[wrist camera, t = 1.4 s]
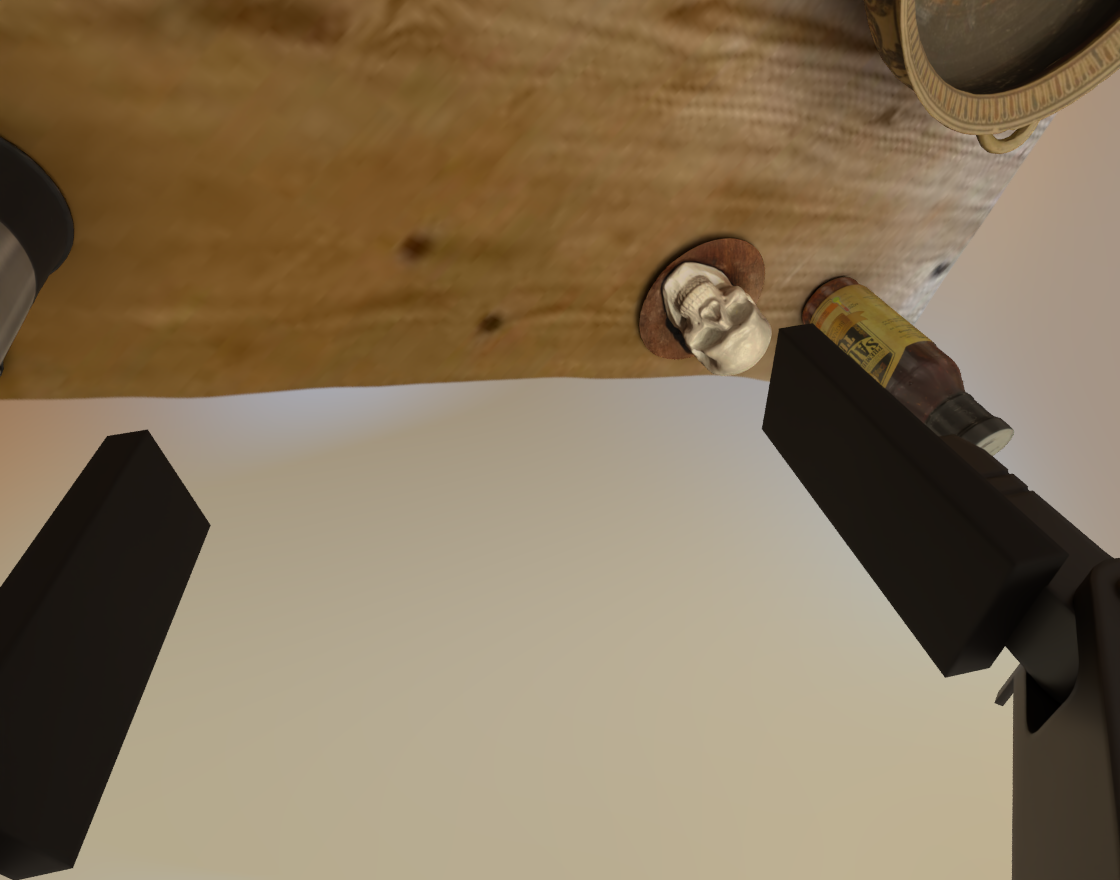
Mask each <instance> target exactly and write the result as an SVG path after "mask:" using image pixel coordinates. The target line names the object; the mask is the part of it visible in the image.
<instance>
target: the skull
mask: <svg viewBox="0 0 1120 880" xmlns="http://www.w3.org/2000/svg"><path fill="white" fill-rule="evenodd" d="M764 279H765V266H764V262H763V259H762V256H761V255H760V253H759V251H758V250H757V249H756V248H755V247H754V246H753V245H751V244H750V243H748V242H746V241H743V240H739V239H735V238H727V239H725V238H724V239H719V240H718V239H716V240H714V241H710V242H706V243H704V244H702V245H699V246H697V247H695V248H693V249H691V250H690V251H688V252H686V253H685V254H683V255H682V256H680V257H679V258H677V259H676V260H675V261H674V262H672V263H671V264H670V265H669V266H667V268H666V269H665V270H664V271H663V272H662V273H661V274H660V275H659V277H658V278H657V280H656V281H655V283H654V284H653V285H652V288H651V289H650V290H649V292H648V295H647V297H646V299H645V301H644V304H643V307H642V309H641V310H642V311H641V313H640V314H641V315H640V321H639V322H640V324H639V325H638V326H639V328H640V334H641V338H642V340H643V342H644V344H645V345H646V347H647V348H648V349H649V350H650V351H651V352H652V353H653V354H655V355H658V356H660V357H663V358H666V359H674V360H675V359H684V358H688V357H689V358H690V357H693V356H696V357H697V359H698V360H699V361H700V362H701V363H702V364H703V365H704V366H705V367H706V368H707V369H708V370H709V371H711V373H713V374H716V375H721V376H728V375H734V374H739V373H741V372H744V371H746V370H748V369H750V368H751V367H752V366H754V365H755V364H756V363H757V362H758V361H759V360H760V359H761V357H762V356H763V355H764V353H765V352H766V350H767V348H768V345H769V343H770V340H771V335H772V332H771V326H770V324H769V322H768V320H767V319H766V318H765V316H764V315H763V314H762V313H761V311H760V310H759V309H758V307H757V306H756V303H757V301H758V299H759V297H760V294H761V291H762V289H763V284H764ZM665 313H666V314H665Z"/></svg>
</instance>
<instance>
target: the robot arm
mask: <svg viewBox="0 0 1120 880" xmlns="http://www.w3.org/2000/svg"><path fill="white" fill-rule="evenodd" d="M762 430H763V431H764V432H765V434H766V435H767V436H768V438H769V439H770V441H771V442H772V443H773V445H774V446H775V447H776V449H777V450H778V451H779V453H780V454H781V455H782V457H783V458H784V460H785V461H786V462H787V464H788V465H789V466H790V468H791V469H792V470H793V472H794V473H795V474H796V476H797V477H798V479H799V480H800V481H801V483H802V484H803V485H804V487H805V488H806V489H807V491H808V492H809V493H810V495H811V496H812V498H813V499H814V500H815V502H816V503H817V504H818V506H819V507H820V508H821V510H822V511H823V512H824V514H825V515H826V517H827V518H828V519H829V521H830V522H831V523H832V525H833V526H834V527H835V529H836V530H837V531H838V533H839V534H840V536H841V537H842V538H843V540H844V541H845V542H846V544H847V545H848V546H849V548H850V549H851V550H852V552H853V553H854V555H855V556H856V557H857V559H858V560H859V561H860V563H861V564H862V565H863V567H864V568H865V569H866V571H867V572H868V573H869V575H870V576H871V578H872V579H873V580H874V582H875V583H876V584H877V586H878V587H879V589H880V590H881V591H882V593H883V594H884V595H885V597H886V598H887V599H888V601H889V602H890V603H891V605H892V606H893V607H894V609H895V610H896V612H897V613H898V614H899V615H900V617H901V618H902V620H903V621H904V622H905V624H906V625H907V627H908V628H909V629H910V631H911V632H912V633H913V634H914V636H915V637H916V639H917V640H918V641H919V643H920V644H921V645H922V647H923V648H924V650H925V651H926V652H927V654H928V655H929V656H930V658H931V659H932V660H933V662H934V663H935V665H936V666H937V667H938V668H939V670H940V671H941V673H942V674H943V675H944V677H950V676H955V675H959V674H964V673H969V672H973V671H978V670H982V669H986V668H990V666H991V665H992V664H993V662H994V661H995V660H996V658H997V657H998V655H999V654H1000V652H1001V651H1002V650H1003V648H1004V647H1005V646H1006V647H1007V648H1008V650H1009V651H1010V652H1011V653H1012V654H1013V656H1014V657H1015V658H1016V659H1017V660H1018V661H1019V662H1020V664H1019V665H1018V667H1017V668H1016V669H1015V671H1014V672H1013V673H1012V675H1011V676H1010V677H1009V679H1008V680H1007V681H1006V683H1005V684H1004V685H1003V686H1002V688H1001V689H1000V690H999V692H998V695H997V697H996V700H995V703H996V704H998V705H1001V706H1003V705H1004V704H1005V703H1006V701H1007V700H1008V699H1009V698H1010V696H1011V695H1012V694H1014V695H1013V700H1014V701H1013V704H1014V705H1013V819H1012V820H1013V821H1012V823H1013V824H1012V828H1013V829H1012V880H1120V558H1115V559H1114V558H1113V557H1111V556H1110V555H1108V554H1107V553H1106V552H1105V551H1103V550H1102V549H1101V548H1100V547H1099V546H1098V545H1096V544H1095V543H1094V542H1093V541H1092V540H1090V539H1089V538H1088V537H1087V536H1086V535H1085V534H1083V533H1082V532H1081V531H1080V530H1079V529H1078V528H1076V527H1075V526H1074V525H1073V524H1072V523H1070V522H1069V521H1068V520H1067V519H1066V518H1065V517H1063V516H1062V515H1061V514H1060V513H1059V512H1058V511H1056V510H1055V509H1054V508H1053V507H1052V506H1050V505H1049V504H1048V503H1047V502H1046V501H1044V500H1043V499H1042V498H1041V497H1040V496H1039V495H1037V494H1036V493H1035V492H1034V491H1029V490H1028V486H1027V485H1026V484H1025V483H1023V482H1022V481H1021V480H1020V479H1019V478H1018V477H1016V476H1015V475H1014V474H1009V473H1008V469H1007V468H1006V467H1005V466H1003V465H1002V464H1001V463H1000V462H998V461H997V460H996V459H995V458H994V457H993V456H992V455H990V454H989V453H988V452H987V451H986V450H985V449H983V448H981V447H979V446H977V445H975V444H973V443H971V442H969V441H967V440H965V439H963V438H961V437H959V436H957V435H955V434H949V435H944V436H937V435H936V434H935V433H934V432H933V431H932V430H931V429H930V428H928V427H927V426H926V425H925V424H924V423H923V422H922V421H921V420H920V419H918V418H917V417H916V416H915V415H914V414H913V413H912V412H911V411H910V410H908V409H907V408H906V407H905V406H904V405H903V404H902V403H901V402H900V401H898V400H897V399H896V398H895V397H894V396H893V395H892V394H891V393H890V392H888V391H887V390H886V389H885V388H884V387H883V386H882V385H881V384H880V383H879V382H877V381H876V380H875V379H874V378H873V377H872V376H871V375H870V374H869V373H867V372H866V371H865V370H864V369H863V368H862V367H861V366H860V365H859V364H857V363H856V362H855V361H854V360H853V359H852V358H851V357H850V356H849V355H847V354H846V353H845V352H844V351H843V350H842V349H841V348H840V347H839V346H837V345H836V344H835V343H834V342H833V341H832V340H831V339H830V338H829V337H827V336H826V335H825V334H824V333H823V332H822V331H821V330H820V329H819V328H817V327H816V326H815V325H814V324H813V323H811V324H805V325H798V326H792V327H786V328H780V329H779V333H778V339H777V344H776V350H775V356H774V362H773V368H772V373H771V379H770V385H769V391H768V397H767V403H766V408H765V414H764V420H763V426H762ZM209 528H210V524H209V522H208V521H207V519H206V518H205V516H204V515H203V513H202V512H201V510H200V509H199V507H198V506H197V504H196V502H195V501H194V499H193V498H192V496H191V495H190V493H189V492H188V490H187V489H186V487H185V486H184V484H183V483H182V481H181V479H180V478H179V476H178V475H177V473H176V472H175V470H174V469H173V467H172V466H171V464H170V463H169V461H168V460H167V458H166V457H165V455H164V454H163V452H162V451H161V449H160V448H159V446H158V444H157V443H156V442H155V440H154V438H153V437H152V436H151V434H150V432H149V431H148V430H142V431H136V432H130V433H123V434H117V435H111V436H107V437H106V439H105V440H104V441H103V443H102V444H101V446H100V447H99V448H98V450H97V451H96V453H95V454H94V456H93V457H92V459H91V460H90V461H89V463H88V464H87V466H86V467H85V468H84V470H83V471H82V473H81V474H80V475H79V477H78V478H77V479H76V481H75V482H74V484H73V485H72V487H71V488H70V490H69V491H68V492H67V494H66V495H65V496H64V498H63V500H62V501H61V502H60V504H59V505H58V506H57V508H56V509H55V511H54V512H53V514H52V515H51V516H50V518H49V519H48V521H47V522H46V523H45V525H44V526H43V528H42V529H41V531H40V532H39V533H38V535H37V536H36V538H35V539H34V540H33V542H32V543H31V545H30V546H29V547H28V549H27V550H26V552H25V553H24V555H23V556H22V557H21V559H20V560H19V562H18V563H17V564H16V566H15V567H14V569H13V570H12V572H11V573H10V574H9V576H8V577H7V579H6V580H5V582H4V583H3V584H2V586H1V587H0V874H1V875H3V876H6V877H8V878H10V879H12V880H20V879H25V878H29V877H34V876H38V875H43V874H48V873H52V872H57V871H62V870H66V869H71V868H73V866H74V864H75V861H76V859H77V856H78V854H79V851H80V849H81V846H82V844H83V841H84V839H85V836H86V834H87V831H88V829H89V826H90V824H91V822H92V819H93V817H94V814H95V812H96V809H97V806H98V804H99V802H100V799H101V797H102V794H103V792H104V789H105V787H106V784H107V782H108V779H109V777H110V774H111V771H112V769H113V767H114V764H115V762H116V759H117V757H118V754H119V752H120V749H121V747H122V744H123V742H124V739H125V737H126V734H127V732H128V729H129V727H130V724H131V722H132V719H133V717H134V714H135V712H136V710H137V707H138V705H139V702H140V700H141V697H142V695H143V692H144V690H145V687H146V685H147V682H148V680H149V677H150V675H151V672H152V670H153V667H154V665H155V662H156V660H157V657H158V655H159V652H160V650H161V647H162V645H163V642H164V640H165V637H166V635H167V632H168V630H169V627H170V625H171V623H172V620H173V617H174V615H175V612H176V610H177V607H178V605H179V603H180V600H181V598H182V595H183V593H184V590H185V588H186V585H187V582H188V580H189V578H190V575H191V573H192V570H193V568H194V565H195V563H196V560H197V558H198V555H199V553H200V550H201V547H202V545H203V543H204V540H205V538H206V535H207V533H208V530H209Z"/></svg>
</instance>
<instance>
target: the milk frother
mask: <svg viewBox="0 0 1120 880" xmlns="http://www.w3.org/2000/svg"><path fill="white" fill-rule="evenodd" d="M73 238H74V229H73V220H72V217H71V213H70V211H69V208H68V206H67V204H66V201H65V199H64V197H63V196H62V194H61V192H60V191H59V189H58V188H57V186H56V185H55V184H54V183H53V181H52V180H51V178H50V177H49V176H48V175H47V174H46V173H45V172H44V171H43V169H42V168H41V167H40V166H38V165H37V164H36V163H35V162H34V161H33V160H32V159H31V158H30V157H28V156H27V155H26V154H25V153H23V152H22V151H21V150H19V149H18V148H17V147H15V146H14V145H12V144H11V143H9V142H7V141H6V140H4V139H3V138H1V137H0V376H1V375H2V372H3V369H4V368H3V359H4V357H5V355H6V354H7V352H8V350H9V348H10V346H11V344H12V342H13V340H14V338H15V336H16V335H17V333H18V331H19V329H20V327H21V325H22V323H23V322H24V320H25V317H26V315H27V313H28V311H29V309H30V308H31V306H32V305H33V303H34V301H35V299H36V297H37V295H38V293H39V291H40V289H41V288H42V286H43V285H44V283H45V281H46V280H47V278H48V276H49V275H50V274H51V273H53V272H54V271H56V270H57V269H58V268H59V267H60V266H61V264H62V263H63V262H64V261H65V259H66V258H67V256H68V254H69V252H70V250H71V248H72V245H73Z"/></svg>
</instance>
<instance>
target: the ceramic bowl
mask: <svg viewBox="0 0 1120 880" xmlns="http://www.w3.org/2000/svg"><path fill="white" fill-rule="evenodd" d="M864 5H865V10H866V15H867V20H868V24H869V28H870V32H871V35H872V38H873V40H874V43H875V45H876V48H877V50H878V52H879V54H880V56H881V58H882V60H883V61H884V63H885V64H886V65H887V67H888V68H889V69H890V70H891V72H892V73H893V74H894V76H895V77H896V78H898V79H899V80H900V81H901V82H903V83H904V84H905V85H907V86H908V87H909V88H911V89H912V90H914V92H915V93H916V95H917V97H918V99H919V100H920V102H921V103H922V104H923V106H924V107H925V109H926V110H927V111H928V113H929V114H930V115H931V116H932V117H934V118H935V119H936V120H937V121H939V122H940V123H941V124H943V125H944V126H945V127H947V128H950V129H952V130H954V131H957V132H960V133H963V134H969V135H976V136H977V139H978V141H979V143H980V145H981V146H982V147H983V148H984V149H985V150H986V151H987V152H989V153H995V154H1003V153H1007V152H1010V151H1012V150H1014V149H1016V148H1017V147H1019V146H1020V145H1022V144H1023V143H1024V142H1025V141H1026V140H1027V139H1028V137H1029V136H1030V135H1031V134H1032V133H1033V131H1034V130H1035V128H1036V127H1037V125H1038V123H1039V121H1040V120H1042V119H1044V118H1046V117H1048V116H1050V115H1052V114H1054V113H1056V112H1058V111H1059V110H1061V109H1063V108H1065V107H1067V106H1068V105H1070V104H1072V103H1073V102H1075V101H1076V100H1078V99H1079V98H1080V97H1082V96H1084V95H1085V94H1087V93H1088V92H1090V91H1091V90H1093V89H1094V88H1095V87H1096V86H1097V85H1098V84H1099V83H1101V82H1103V81H1104V80H1106V79H1107V78H1109V77H1110V76H1111V75H1112V74H1113V73H1115V72H1116V71H1117V70H1118V69H1119V68H1120V0H864ZM1009 129H1010V130H1015V129H1017V130H1016V131H1015V132H1014V133H1013V134H1012V135H1011V136H1009V137H1007V138H1005V139H996V138H995V137H994V136H993V134H998V133H1002V132H1004V131H1006V130H1009Z"/></svg>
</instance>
